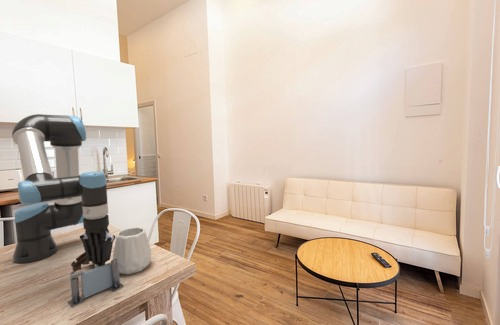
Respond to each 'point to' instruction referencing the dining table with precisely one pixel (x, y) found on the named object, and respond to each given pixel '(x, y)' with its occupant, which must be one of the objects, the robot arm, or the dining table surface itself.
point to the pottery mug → (80, 262)
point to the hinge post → (75, 293)
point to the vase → (132, 250)
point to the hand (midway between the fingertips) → (100, 280)
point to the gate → (95, 279)
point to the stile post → (115, 276)
